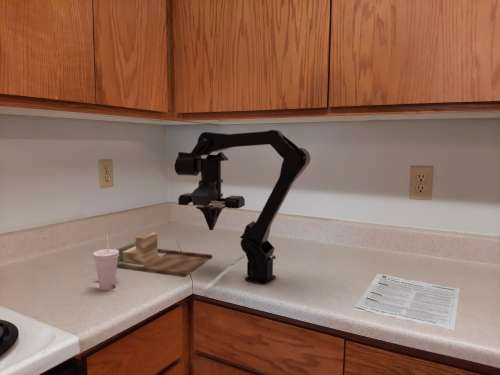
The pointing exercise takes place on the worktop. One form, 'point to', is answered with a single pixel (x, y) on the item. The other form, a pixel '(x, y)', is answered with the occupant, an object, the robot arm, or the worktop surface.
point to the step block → (142, 249)
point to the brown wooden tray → (166, 262)
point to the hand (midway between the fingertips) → (211, 229)
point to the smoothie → (106, 266)
